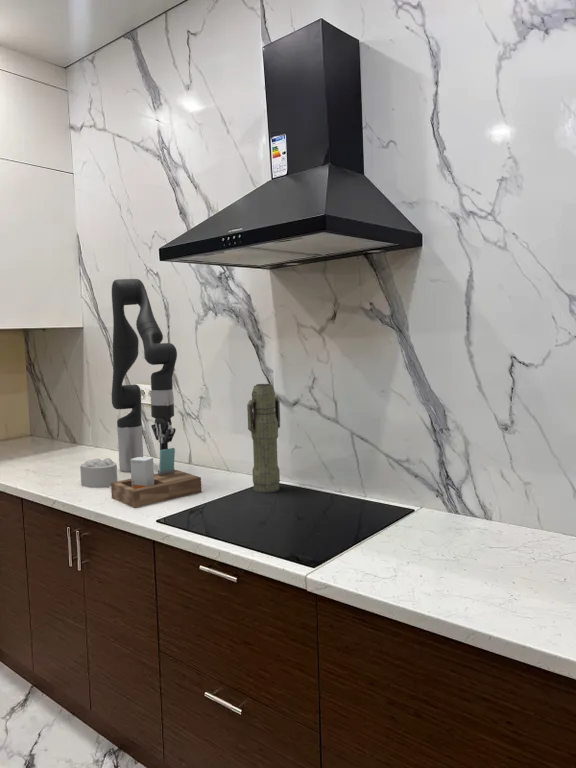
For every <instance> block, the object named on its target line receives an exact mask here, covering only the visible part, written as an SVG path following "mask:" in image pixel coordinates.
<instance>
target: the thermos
mask: <svg viewBox="0 0 576 768" xmlns="http://www.w3.org/2000/svg"><path fill="white" fill-rule="evenodd" d="M274 389H275V388H274V387H273V384H270V383H257V384H255V385H253V387H252V392H251V399H250V400H248V402H247V405H246V407H247V430H248V431H249V432H250V433H251V435H250V436H251V439H252V447H253V448H252V450H253V451H252V452H253V467H252V471H251V472H252V483H253V491H254V492H256V493H262V494H268V493H269V494H270V493H275V492H278V491H280V482H281V480H280V479H281V478H280V476H281V475H280V473H281V472H280V468H279V467H280V466H279V464H278V437H279V429H280V428H281V412H280V411H281V408H280V407H281V406H280V402H281V401H280V399H279V398H278V397H276V392H275V390H274Z"/></svg>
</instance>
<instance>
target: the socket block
mask: <svg viewBox="0 0 576 768" xmlns="http://www.w3.org/2000/svg"><path fill="white" fill-rule="evenodd" d="M110 489H111V490H110V492H111V499H113V500H116V501H118V502H120V503H123V504H124V505H126V506H129V507H131V508H133V509H135V508H140V507H144V506H149V505H152V504H153V505H154V504H157V503H160V502H162V503H163V502H166V501H171V500H175V499H179V498H182V497H183V498H184V497H185V496H186V497H187V496H191V495H195V494H200V493H203V492H202V477H201V476H198V475H195V474H192V473H188V472H186V471H185V472H184V471H181V470H178V469H175V472H174V473H170V474H165V475H160V476H159V475H158V472H157V473H154V485H152V486H148V487H143V488H138V489H134V488H132V481H131V478H129V479H123V480H117V482H112V483H111V487H110Z"/></svg>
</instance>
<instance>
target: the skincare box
mask: <svg viewBox="0 0 576 768" xmlns="http://www.w3.org/2000/svg"><path fill="white" fill-rule="evenodd" d="M154 472H155V471H154V458H153V457H147V456H143V457H136V458H133V459H131V472H130V475H131V478H130V479H131V481H132V488H134V489H138V488H143V487H148V486H152V485H154V474H155V473H154Z"/></svg>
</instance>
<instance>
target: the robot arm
mask: <svg viewBox="0 0 576 768" xmlns="http://www.w3.org/2000/svg"><path fill="white" fill-rule="evenodd" d="M111 304H112V307H111V308H112V317H113V318H112V319H113V320H112V322H113V325H112V327H113V328H112V367H113V368H112V383H111V384H112V385H111V405H112V407H113V408H114V409H115V410H126V409H127V410H130V409H131V411H130V412H129V413H127V414H126V415H124V416H123V417H120V418H118V419H117V421H116V423H117V424H116V425H117V426H116V427H117V429H116V430H117V445H118V462H119V463H118V464H119V472H125V473H126V472H127V473H131V459H133V458H136V457H144V445H143V444H144V441H143V439H144V438H143V430H142V429H143V424H142V390H141V388H140V386H139V385H138V384H126V385H123V382H124V379H125V377H126V375H127V374H128V372H129V371H130V369H131V368H132V366H133V365H134V364H135V362H136V361H137V358H138V357H139V337H140V338H141V341H142V344H143V353H144V359H145V361H146V362H147V363H148V364H149V365H152V366H157V365H162V368H161V369H160V370H158V371H155V372H152V373H151V375H150V410H151V411H150V413H151V415H150V416H151V418H153V419H154V424H151V429H152V432H153V435H154V437H155V441H158V443H159V451H160V450H164V449H169V445H168V444H169V443H171V442H172V440H173V438H174V437H175V436H174V435H175V434H176V428H175V427H174V428H173V426H172V423H173V422H172V420H171V419H172V418H174V417H175V397H174V388H173V387H174V386H173V376H174V370H175V366H176V362H177V358H178V357H177V356H178V351H177V347H176V346H175V345H174V344H173V343H170V342H163V339H164V334H163V333H162V331H161V328H160V327H159V324H158V323H157V321H156V318H155V316H154V313H153V310H152V306H151V302H150V299H149V297H148V293H147V289H146V287H145V285H144V283H143V282H142V280H140V279H139V278H120V279H114V280H113V282H112V284H111ZM131 305H133V306H134V305H138V306H139V313H138V315H137V317H136V323H135V325H136V326H135V327H136V329H137V333H138V335H139V337H138V335H137V333H136V331H135V330H134V328H133V327H132V326H131V324H130V322H129V320H128V318H127V317H126V315H125V306H131Z"/></svg>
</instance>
